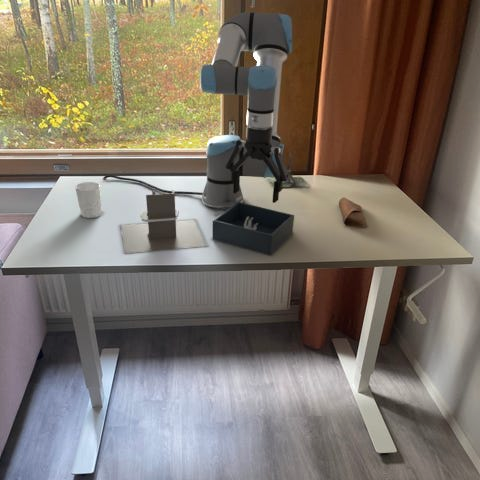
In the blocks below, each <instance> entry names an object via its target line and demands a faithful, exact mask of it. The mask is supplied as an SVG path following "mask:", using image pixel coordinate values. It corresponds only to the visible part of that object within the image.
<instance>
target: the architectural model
mask: <svg viewBox="0 0 480 480" xmlns="http://www.w3.org/2000/svg"><path fill="white" fill-rule="evenodd" d="M171 191H172V193H156V189H154V190H152V191H151V194H146V195H145V199H146V211H143V212H141V213H140V219H141V222H144V223H137V224H125V225H123V224H122V225H120V231H121V232H120V233H121V238H122V243H123V248H124V253H125V254H135V253H136V254H137V253H146V252H147V253H148V252H156V251H169V250H177V249H178V250H180V249H189V248H190V249H191V248H200V247H207V244H206V243H205V240H204V238H203V236H202V233H201V231H200V229H199V227H198V224H197V222H196V220H195V219H189V220H187V219H186V220H177V219H178V218H179V214H180V211H179V210H178V209H176V196H175V195H176V194H175V193H174V191H175V190H174V189H172V190H171Z"/></svg>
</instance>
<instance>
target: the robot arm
mask: <svg viewBox="0 0 480 480" xmlns="http://www.w3.org/2000/svg"><path fill="white" fill-rule="evenodd" d="M292 26H293V24H292V17H290V15H288V14H284V13H279V12H277V13H273V12H272V13H270V12H269V13H268V12H251V11H246V12H245V11H244V12H240V13H237V14H235V15H233V16H231V17H230V18H228V19H227V20H226V21H224V22H223V24H222V25H221V26H220V29H219V30H218V34H217V46H216V50H215V53H214V55H213V59H212V62H211V64H210V63H209V64H203V65H202V66H201V67H200V74H199V85H200V89H201V91H202V92H203V93H206V94H211V95H233V96H234V95H235V96H247V108H246V128H245V129H246V131H245V140H244V139H243V138H241V137H240V136H239V135H237V134H236V135H235V134H222V135H218V136H215V137H212V138H211V139H209V140H208V141H207V143H206V154H205V155H206V182H205V186H204V188H203V192H198V191H181V190H180V191H177V190H176V191H175V190H173V191H174V193H175V195H194V196H195V195H196V196H201V202H202V204H203V205H204V206H205V207H207V208H211V209H215V210H228V209H229V208H231V207H232V206H233V205H235V204H236V203H237V202H241V203H244V195H243V192H242V188H241V184H240V181H241V177H249V178H251V177H253V178H263V179H269V178H275V179H276V181H275V182H274V187H273V191H272V203H273V204H275V203H277V202H278V201H279V197H280V193H281V192H282V190H283V187H282V183H283V181H286V180H288V179H289V174H288V172H287V166H286V164H285V163H286V162H285V160H284V157H283V153H284V148H285V144H284V143H282V142H281V137H280V136H279V135H278V133H277V132H278V119H279V107H280V97H281V96H280V95H281V85H282V71H283V63H284V62H285V61H286V60H288V55H289V54H292V51H293V27H292ZM242 52H253V58H254V59H255V60H256V61H257V63H256V65H254V66H253V65H252V66H238V63H239V61H240V55H241V53H242ZM107 178H113V179H116V180H121V181H128V182H129V181H130V182H134V183H139V184H142V185H144V186H147V187H149V188H151V189H154V190H155V191H158V192H161V193H164V194H169V193H172V190H167V189H162V188H159V187H157V186H155V185H154V184H150V183H148V182H146V181H143V180H140V179H136V178H130V177H121V176H117V175H114V174H107V175H104V176H103V178H102V179H103V180H106V179H107Z"/></svg>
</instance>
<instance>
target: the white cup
mask: <svg viewBox="0 0 480 480" xmlns="http://www.w3.org/2000/svg"><path fill="white" fill-rule="evenodd" d="M74 188H75V193H76V197H77V201H78V206H79V209H80V215H81V217H83V218H87V219H94V218H98V217H100V216H102V197H101V186H100V184H99V183H98V182H93V181H85V182H81V183H78V184H76V185H75V186H74Z"/></svg>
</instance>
